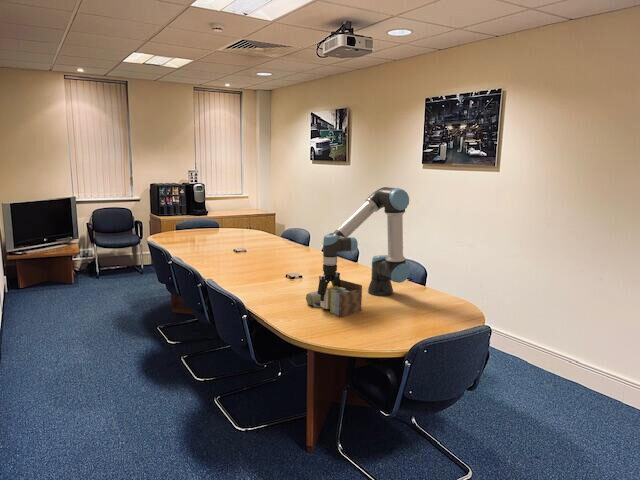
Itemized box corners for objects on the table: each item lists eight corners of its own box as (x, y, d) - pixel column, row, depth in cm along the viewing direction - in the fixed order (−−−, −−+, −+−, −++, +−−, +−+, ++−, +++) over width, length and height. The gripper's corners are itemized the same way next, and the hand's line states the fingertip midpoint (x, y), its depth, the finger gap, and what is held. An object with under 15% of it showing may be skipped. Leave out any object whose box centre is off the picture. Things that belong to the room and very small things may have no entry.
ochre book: (330, 303, 261) (331, 284, 259) (337, 306, 257) (338, 286, 255) (320, 306, 256) (320, 287, 254) (327, 309, 252) (327, 289, 250)
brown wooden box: (334, 302, 269) (335, 278, 266) (361, 310, 255) (362, 285, 252) (313, 308, 257) (313, 283, 255) (340, 317, 243) (341, 291, 241)
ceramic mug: (305, 303, 264) (305, 290, 263) (317, 301, 269) (318, 288, 267) (314, 309, 256) (314, 295, 254) (327, 307, 260) (327, 294, 258)
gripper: (338, 260, 262) (337, 299, 266) (310, 265, 248) (310, 307, 252) (348, 262, 257) (347, 302, 261) (320, 268, 242) (320, 310, 246)
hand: (329, 304), depth 256 cm, fingers open, 8 cm apart
